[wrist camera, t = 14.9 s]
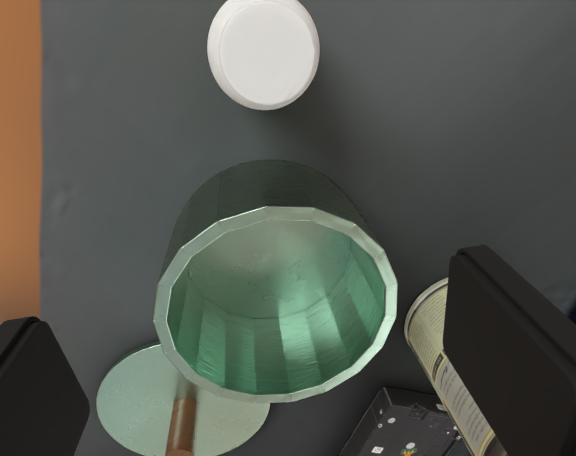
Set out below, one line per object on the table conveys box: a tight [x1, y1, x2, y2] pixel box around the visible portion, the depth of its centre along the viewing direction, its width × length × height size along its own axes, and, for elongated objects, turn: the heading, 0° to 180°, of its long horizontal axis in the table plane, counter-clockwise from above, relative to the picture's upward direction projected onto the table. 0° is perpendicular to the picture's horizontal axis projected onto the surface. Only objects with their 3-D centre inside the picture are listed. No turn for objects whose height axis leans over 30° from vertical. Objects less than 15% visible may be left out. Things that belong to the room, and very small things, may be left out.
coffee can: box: [404, 277, 508, 456], centre depth 31 cm, size 10×10×14 cm
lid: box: [96, 341, 270, 456], centre depth 34 cm, size 16×16×6 cm
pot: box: [153, 160, 398, 404], centre depth 27 cm, size 15×15×8 cm
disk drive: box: [339, 387, 461, 456], centre depth 43 cm, size 10×3×15 cm
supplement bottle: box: [207, 0, 320, 110], centre depth 20 cm, size 5×5×10 cm
